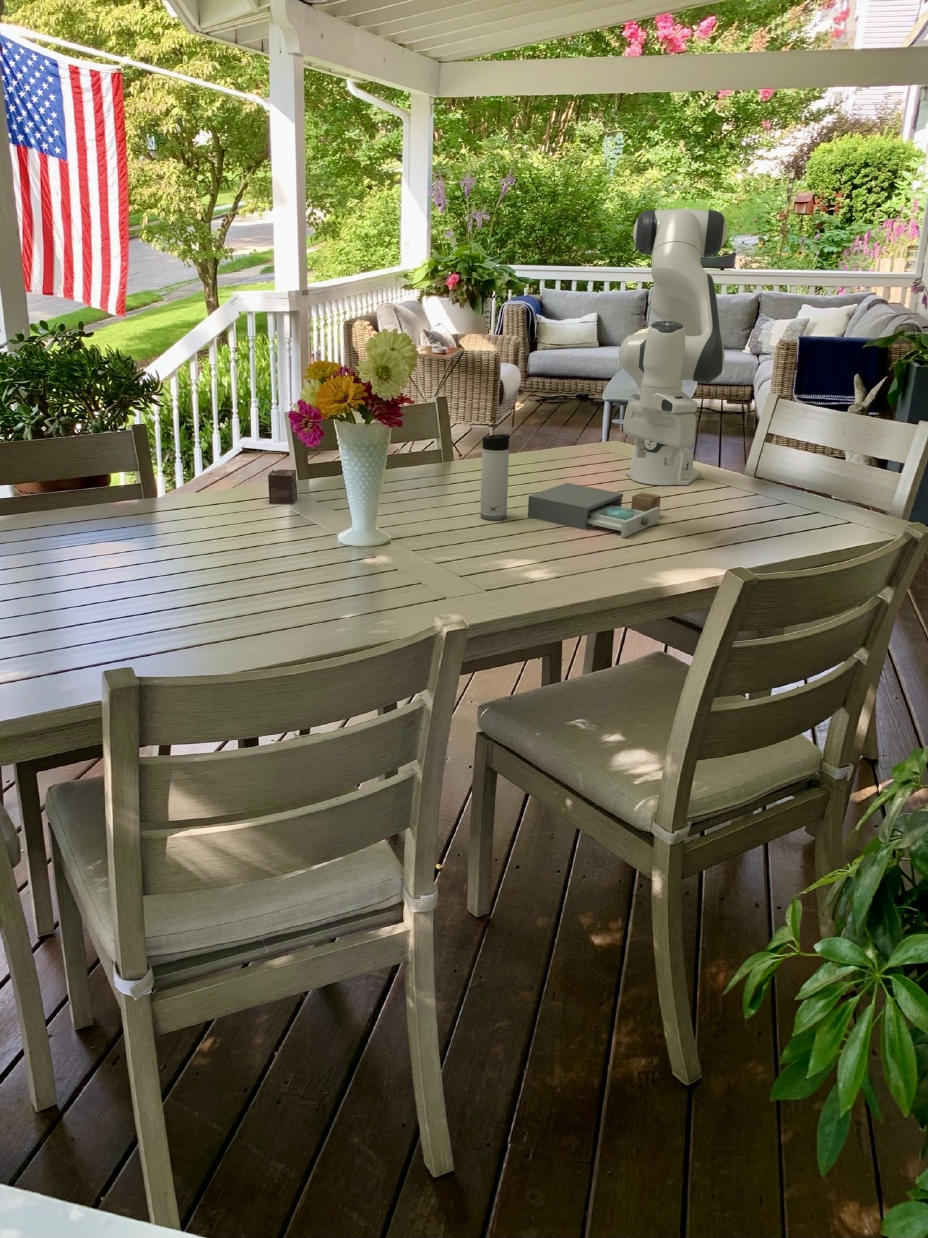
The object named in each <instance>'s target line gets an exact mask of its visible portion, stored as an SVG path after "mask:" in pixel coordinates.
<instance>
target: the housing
mask: <svg viewBox="0 0 928 1238" xmlns="http://www.w3.org/2000/svg"><path fill="white" fill-rule="evenodd" d="M623 497H624V494H623V493H621V492H618V491H611V490H606V489H601V488H595V487H590V486H585V485H580V484H576V483H569V482H564V483H563V484H559V485H556V486H553V487H550V488H547V489H545V490H542V491H539V492H536V493H533V494H531V495H530V494H529V495H528V504H527V505H528V507H527V518H530V519H531V518H532V519H535V520H540V521H543V522H544V521H545V522H549V523H552V522H553V523H554V524H558V525H561V524H562V525H563V526H566V525H568V526H567V527H570V526H571V528H575V527H576V529H579V528H580V529H581V530H584V529H586V530H588V529H590V528H589V527H591V528H592V526H593V527H595V526H594V525H592V524H587V517H588V511H589V510H591V509H594V508H596V507H599V506H601V505H606V506H610V505H614V506H619V507H623V506H622V504H623ZM562 525H561V526H562Z"/></svg>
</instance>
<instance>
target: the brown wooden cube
mask: <svg viewBox="0 0 928 1238" xmlns="http://www.w3.org/2000/svg"><path fill="white" fill-rule="evenodd" d="M661 497H662V496H661V495H659V494H658V495H657V494H652V493H649V492H648V493H647V492H639V493H637V494H635V495H632V498H631V507H630V509H634V510H639V511H643V512H646V511H648V510H650V509H652V508H655V507H660V508H661Z"/></svg>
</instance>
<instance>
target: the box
mask: <svg viewBox="0 0 928 1238" xmlns="http://www.w3.org/2000/svg"><path fill="white" fill-rule="evenodd" d="M267 481H268V498H269V499H268V500H269V504H274V505H275V504H276V505H277V504H278V505H279V504H280V505H281V504H284V505H285V504H286V505H294V504H295V502H296V501H297V500H298V487H297V486H298V484H297V470H296V469H272V470H271V471H270V472H269V473H268V475H267Z"/></svg>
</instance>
